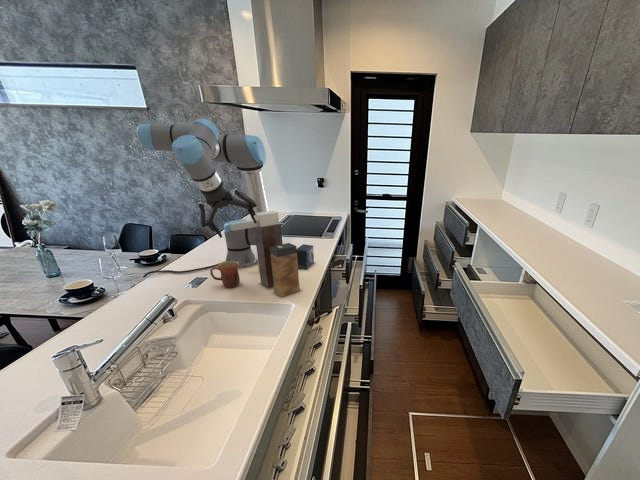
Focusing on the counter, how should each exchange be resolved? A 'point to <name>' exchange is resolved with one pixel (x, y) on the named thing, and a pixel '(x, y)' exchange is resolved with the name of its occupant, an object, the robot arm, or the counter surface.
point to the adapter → (283, 249)
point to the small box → (305, 256)
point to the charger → (261, 219)
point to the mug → (228, 273)
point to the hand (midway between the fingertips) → (238, 228)
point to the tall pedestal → (267, 250)
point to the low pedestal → (285, 274)
